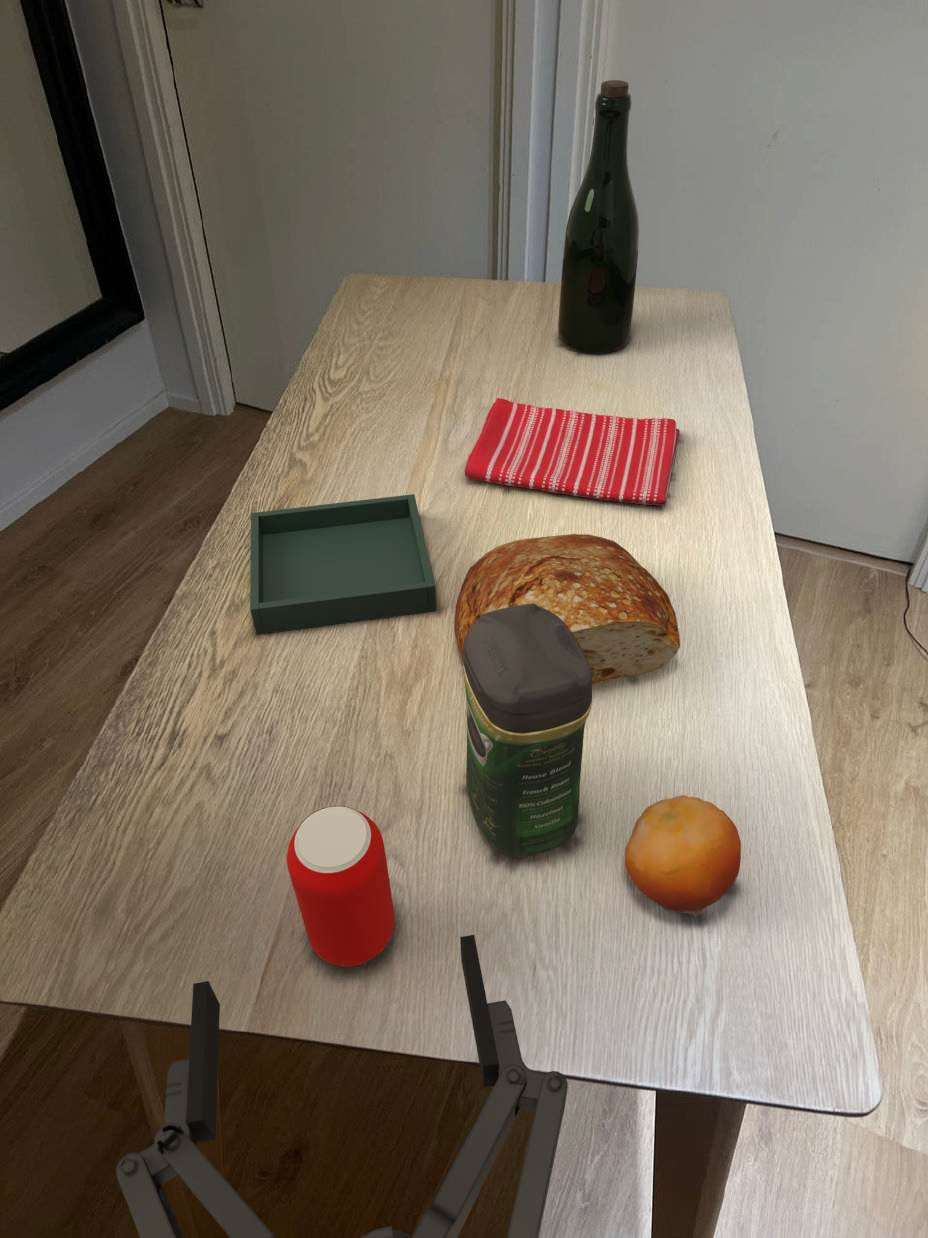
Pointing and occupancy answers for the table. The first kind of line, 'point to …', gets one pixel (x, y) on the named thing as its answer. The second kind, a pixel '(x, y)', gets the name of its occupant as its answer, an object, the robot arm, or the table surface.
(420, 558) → the drinks tray
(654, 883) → the fruit
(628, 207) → the wine bottle
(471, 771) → the coffee jar
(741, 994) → the table surface
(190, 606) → the table surface
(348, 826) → the beverage can
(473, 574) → the bread
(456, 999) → the table surface
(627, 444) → the dish towel
